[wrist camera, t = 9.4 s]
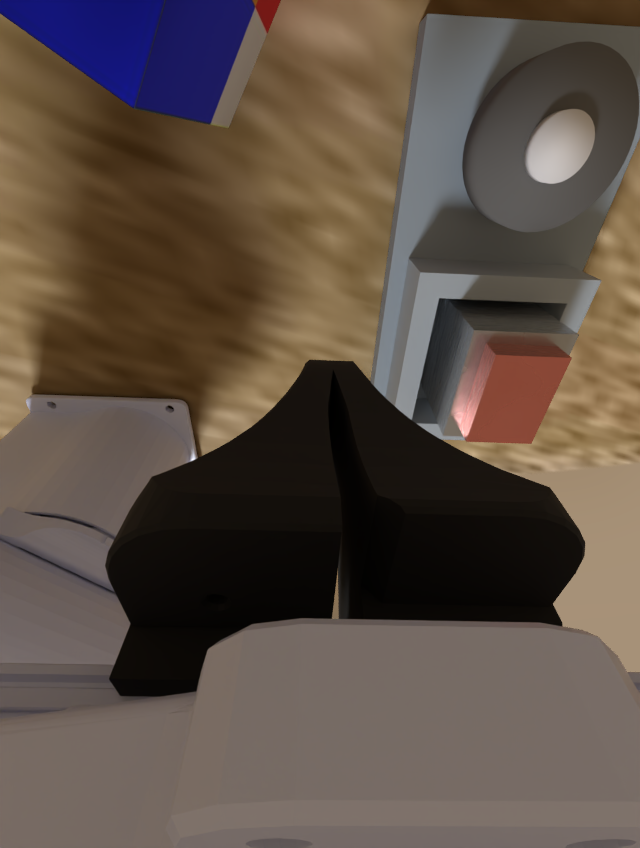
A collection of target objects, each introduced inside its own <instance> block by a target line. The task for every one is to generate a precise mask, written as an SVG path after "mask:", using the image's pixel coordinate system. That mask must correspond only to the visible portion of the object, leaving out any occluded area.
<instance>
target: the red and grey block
mask: <svg viewBox="0 0 640 848" xmlns="http://www.w3.org/2000/svg"><path fill="white" fill-rule="evenodd" d="M578 336H579V334H577V333H576V332H574V331H573V330H572V329H570V328H569V327H567V326H566V325H565V324H563V323H562V322H560V321H559V320H558V319H556V318H555V317H554V316H552V315H551V314H549V313H548V312H547V311H545V310H544V309H542V308H541V307H540V306H538V305H537V304H535V303H534V302H517V301H494V300H470V299H446V298H439V301H438V306H437V310H436V314H435V319H434V323H433V328H432V332H431V337H430V341H429V346H428V350H427V354H426V359H425V363H424V368H423V372H422V377H421V381H420V384H421V386H422V388H423V391H424V393H425V395H426V398H427V400H428V402H429V404H430V407H431V409H432V411H433V414H434V416H435V418H436V421H437V423H438V425H439V428H440V430H441V432H442V435H443V436H462V437H464V438H465V440H466V441H468V442H497V443H526V444H531V443H532V441H533V439H534V437H535V435H536V432H537V430H538V428H539V426H540V424H541V422H542V420H543V418H544V416H545V413H546V411H547V409H548V407H549V405H550V403H551V401H552V399H553V397H554V394H555V392H556V390H557V388H558V386H559V384H560V382H561V380H562V378H563V375H564V373H565V371H566V369H567V367H568V365H569V363H570V361H571V359H572V358H571V357H570V356H569V355H570V353H571V350H572V348H573V346H574V344H575V342H576V340H577V338H578Z"/></svg>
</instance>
